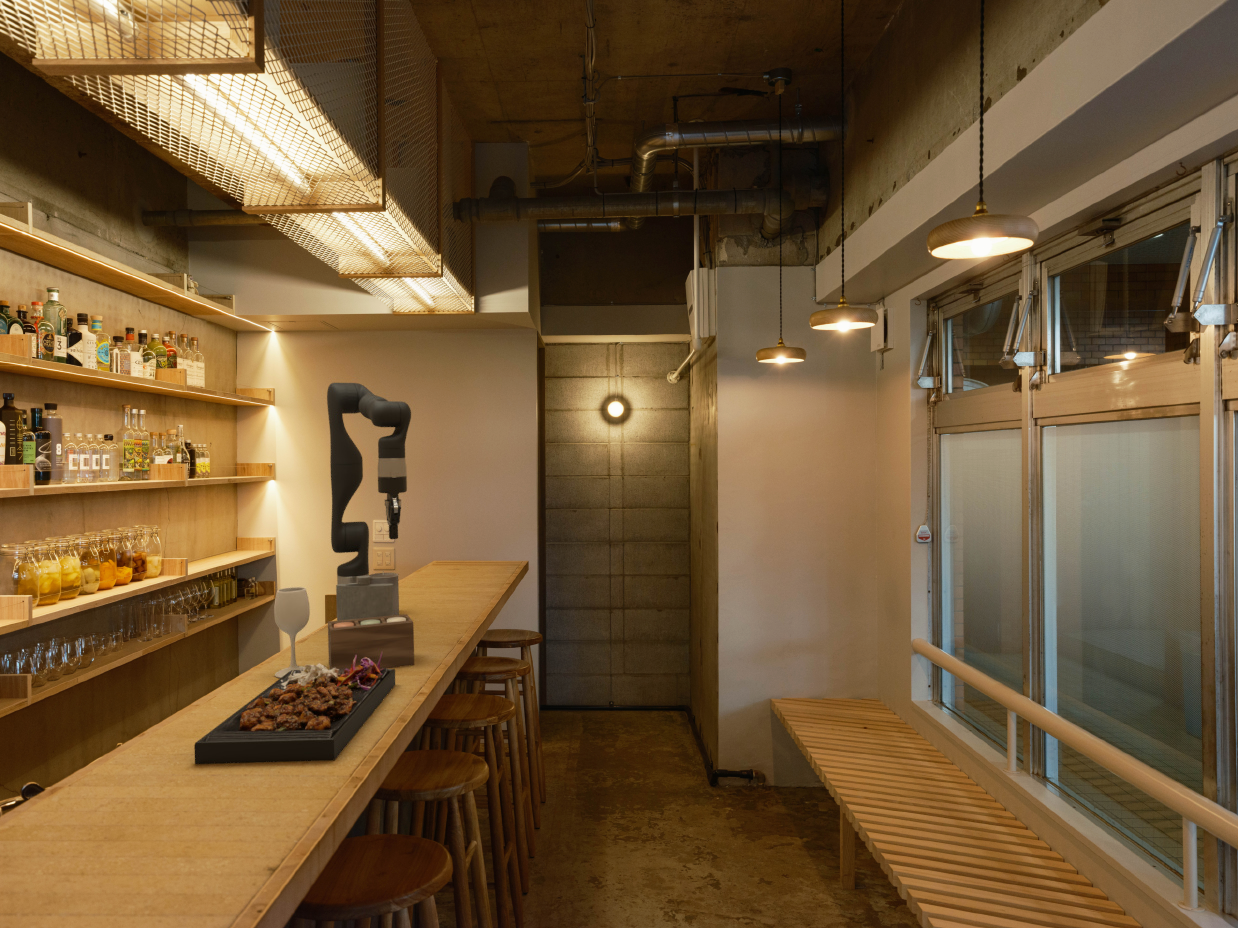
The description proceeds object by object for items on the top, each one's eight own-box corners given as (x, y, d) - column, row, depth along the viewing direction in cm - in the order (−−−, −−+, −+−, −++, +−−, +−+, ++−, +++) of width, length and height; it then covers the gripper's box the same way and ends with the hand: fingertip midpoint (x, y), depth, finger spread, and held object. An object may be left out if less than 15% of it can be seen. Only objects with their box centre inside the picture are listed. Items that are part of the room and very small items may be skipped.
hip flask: (395, 645, 226) (394, 574, 226) (391, 648, 222) (389, 576, 222) (340, 645, 227) (338, 574, 226) (334, 648, 223) (332, 577, 222)
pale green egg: (359, 634, 207) (359, 620, 207) (379, 632, 209) (378, 618, 209) (361, 638, 203) (361, 624, 203) (381, 636, 205) (381, 622, 205)
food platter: (289, 689, 188) (288, 646, 187) (395, 687, 189) (394, 643, 188) (194, 767, 143) (193, 710, 142) (334, 763, 144) (333, 706, 143)
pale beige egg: (385, 631, 210) (385, 618, 210) (404, 629, 212) (404, 616, 212) (388, 635, 206) (387, 621, 206) (407, 633, 208) (407, 619, 207)
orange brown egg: (333, 636, 205) (333, 623, 205) (353, 634, 207) (352, 621, 207) (334, 640, 200) (334, 626, 200) (354, 638, 202) (354, 625, 202)
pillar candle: (367, 614, 268) (365, 570, 267) (396, 611, 272) (395, 567, 271) (371, 620, 259) (370, 574, 258) (401, 617, 263) (400, 571, 262)
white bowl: (266, 675, 197) (264, 591, 197) (295, 666, 205) (293, 585, 204) (291, 680, 193) (289, 593, 193) (319, 670, 201) (317, 587, 200)
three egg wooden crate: (328, 663, 208) (327, 621, 207) (407, 654, 215) (406, 614, 215) (331, 674, 197) (330, 630, 197) (414, 664, 205) (413, 622, 205)
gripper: (375, 474, 221) (376, 537, 222) (380, 476, 209) (382, 542, 210) (402, 473, 224) (404, 535, 225) (410, 475, 212) (411, 540, 213)
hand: (393, 538), depth 217 cm, fingers closed
